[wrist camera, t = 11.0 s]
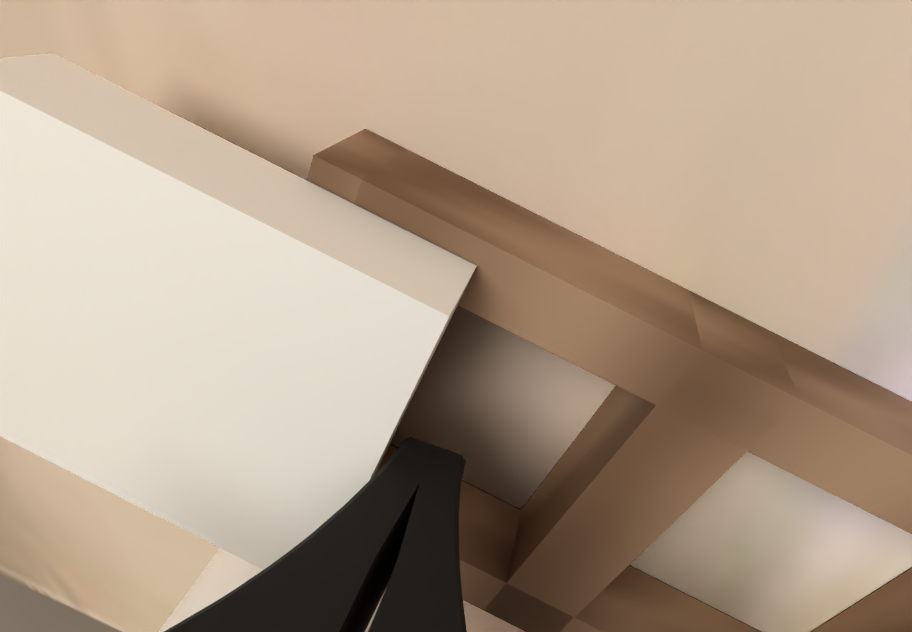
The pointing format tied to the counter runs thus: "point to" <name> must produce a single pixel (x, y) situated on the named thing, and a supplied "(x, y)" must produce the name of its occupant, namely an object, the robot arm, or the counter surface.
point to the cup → (216, 586)
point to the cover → (199, 315)
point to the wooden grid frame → (631, 410)
